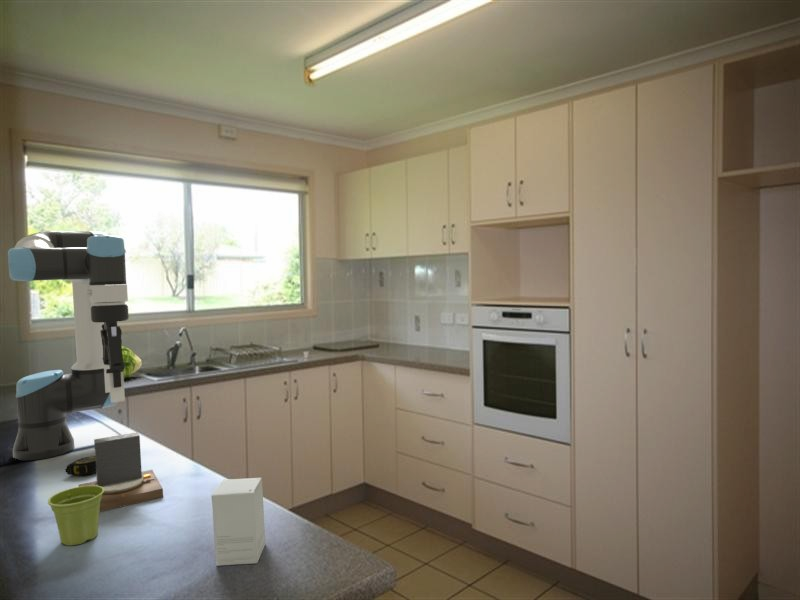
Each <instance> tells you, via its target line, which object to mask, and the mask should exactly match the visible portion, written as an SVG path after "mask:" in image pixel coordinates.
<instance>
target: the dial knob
mask: <svg viewBox="0 0 800 600" xmlns="http://www.w3.org/2000/svg"><path fill="white" fill-rule="evenodd" d="M93 442H94V443H93V444H94V456H95V461H96V472H95V474H96V475H95V476H96V481H97V482H96V483H95V486H101V487H103V488H104V493H103V494H114V493H121V492H125V491H129V490H132V489H134V488H137V487H138V486H140V485H141V484H142V483H143V482H144V479H148V478H151V475H150V474H147V475H143V474H142V472H143V470H142V455H141V438H140V434H139V432H131V433H125V434H119V435H113V436H107V437H102V438H94V439H93Z"/></svg>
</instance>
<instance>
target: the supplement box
mask: <svg viewBox="0 0 800 600" xmlns="http://www.w3.org/2000/svg"><path fill="white" fill-rule="evenodd" d="M263 491H264V490H263V479H262V477H251V478H229V479H228V478H227V479H223V480H221V482H220V483H219V485H218V486H217V488H216V489H215V490H214V491H213V493H212V494H211V504H212V521H213V538H214V541H213V542H214V552H215V555H214V556H215V565H216V566H217V567H218V566H231V565H233V566H234V565H248V564H249V565H250V564H258V563H259V559H260V558H261V555H262V553H263V550H264V548H265V546H266V533H265V532H266V530H265V528H266V527H265V511H264V494H263V493H264V492H263Z"/></svg>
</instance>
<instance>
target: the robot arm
mask: <svg viewBox="0 0 800 600" xmlns="http://www.w3.org/2000/svg"><path fill="white" fill-rule="evenodd" d="M126 253H127V251H126V249H125V240H124V238H123V237H121V236H119V235H118V236H117V235H108V234H107V233H106V232H103V231H93V230H92V231H91V230H87V231H84V230H83V231H82V230H80V231H79V230H77V231H76V230H75V231H73V230H70V231H69V230H45V231H38V232H35V233H31V234H28V235H26V236H23V237H22V238H20V239H19V240H18V241H17V242H16V244H15V246H14V247H12V248H9V250H7V258H8V259H7V260H8V261H7V263H8V272H9V273H8V274H9V279H11V281H15V282H20V281H21V282H31V281H32V282H34V281H35V282H36V281H37V282H38V281H59V280H61V281H62V280H65V281H66V280H68V281H70V282H71V283H72V301H73V315H74V316H73V318H74V335H75V336H74V337H75V349H76V350H75V351H76V354H75V355H76V362H75V363H73V365H72V366H71V367H70V368H71V369H70V372H71V373H65V374H64V371H63V370H62V369H54V370H46V371H40V372H37V373H34V374H30V375H27V376H24V377H22V378H20V379H19V380H18V381H17V382H16V387H15V388H16V389H15V390H16V394H15V398H16V401H17V402H16V403H17V404H16V405H17V422H18V432H17V433H16V434H17V435H16V437H15V442H14V444H13V447H12V458H13V459H14V458H15V459H14V460H16V459H18V460H17V461H35V460H36V461H37V460H42V459H49V458H53V457H56V456H61V455H63V454H65V453H68V452H69V453H70V452H71V451H72V450H73V449H75V439H74V437H73V435H72V432H71V430H70V428H69V426H68V424H67V419H66V417H67V416H66V414H71V413H78V412H84V411H92V410H102V409H105V408H110V407H115V406H116V405H117V403H119V402H125V401H126V396H125V379H124V375H123V370H124V364H123V355H122V344H123V342H122V333H123V332H122V328H121V327H120V326H118V322H124V321H128V320H129V306H128V305H127V304H126V303H127V302H128V301H129V298H128V297H129V296H128V284H127V273H126V269H127V268H126Z"/></svg>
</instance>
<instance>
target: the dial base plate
mask: <svg viewBox="0 0 800 600" xmlns="http://www.w3.org/2000/svg"><path fill="white" fill-rule="evenodd" d="M142 474H143V475H147V474H150V475H151V478H148V479H144V482H143V483H142V484H141V485H140V486H138V487H137V488H134V489H132V490H129V491H125V492H121V493H114V494H102V499H101V501H100V509H99V511H101V512H104V511H103V510H105V511H108V510H107V509H109V510H112V508H114V509H117V508H116V507H118V508H121V507H120V506H122V507H125V506H124V505H127V506H130V504H131V505H134V504H138V503H143V502H147V501H152V500H156V499H159V498H160V499H161V498H164V489H163V485H161V483H160V481H159V479H158V477H157V476H156V473H155V472H154V470H153V469H148V470H144V471H143V470H142ZM96 482H97V480H95V481H89V482H85V483H80V484H77V485H78V486H77V487H80V486H88V485H95V483H96Z"/></svg>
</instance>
